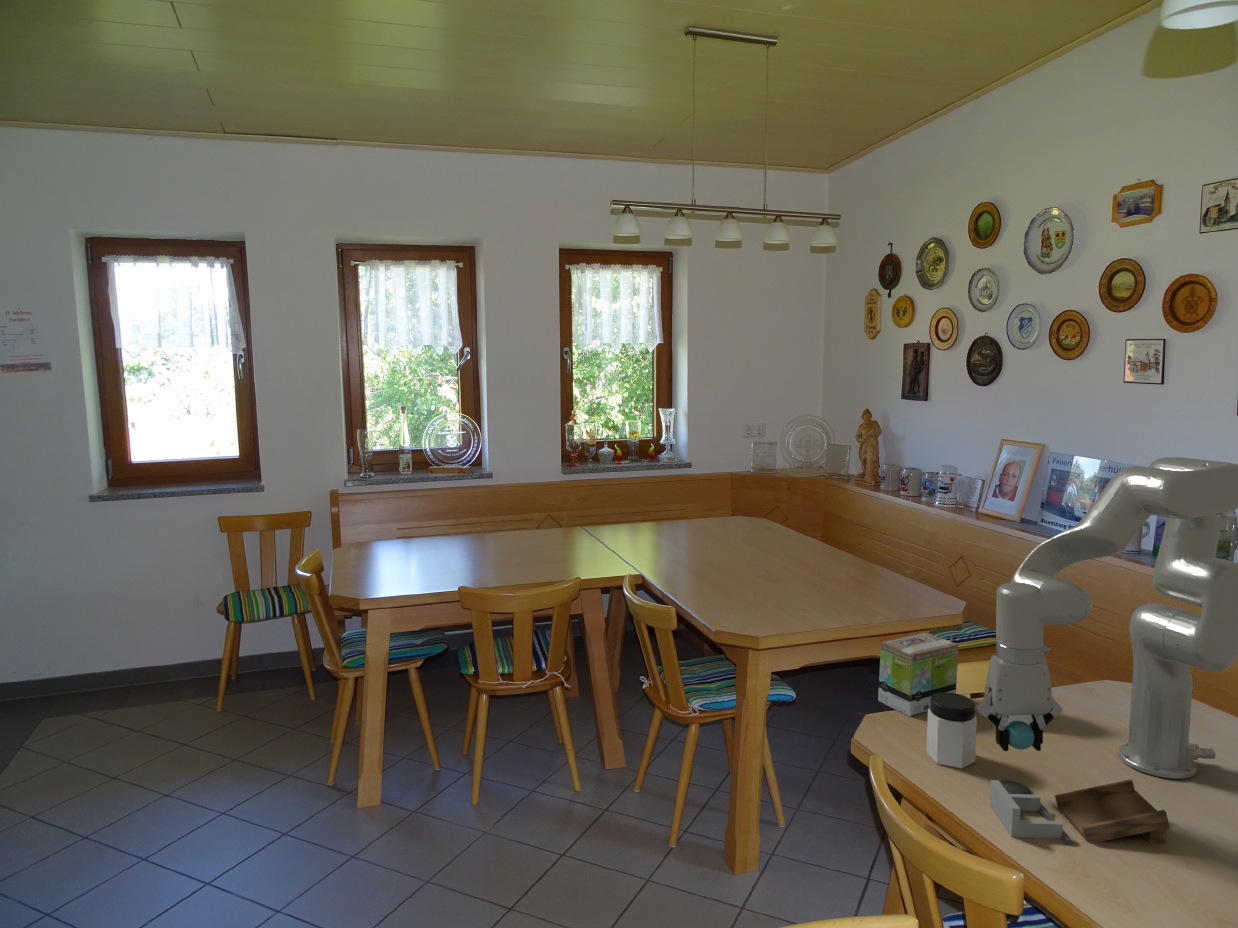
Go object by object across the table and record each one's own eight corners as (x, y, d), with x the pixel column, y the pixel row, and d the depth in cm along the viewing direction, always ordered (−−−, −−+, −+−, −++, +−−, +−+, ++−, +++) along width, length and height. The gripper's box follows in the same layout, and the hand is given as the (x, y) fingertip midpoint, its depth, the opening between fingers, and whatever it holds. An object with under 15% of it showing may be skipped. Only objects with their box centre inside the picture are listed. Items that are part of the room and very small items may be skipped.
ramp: (1133, 811, 135) (1135, 779, 134) (1168, 846, 125) (1170, 811, 124) (1053, 809, 136) (1055, 777, 135) (1082, 843, 126) (1084, 808, 125)
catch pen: (1037, 807, 136) (1038, 781, 135) (1061, 838, 127) (1063, 809, 126) (990, 806, 137) (991, 779, 136) (1011, 836, 128) (1012, 808, 127)
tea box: (911, 718, 172) (913, 654, 170) (877, 701, 181) (878, 640, 179) (957, 704, 179) (959, 642, 177) (922, 688, 187) (924, 630, 186)
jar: (955, 772, 148) (958, 713, 147) (918, 755, 155) (920, 698, 153) (982, 759, 153) (985, 701, 152) (945, 743, 160) (947, 688, 158)
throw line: (1038, 803, 137) (1038, 799, 137) (1071, 844, 125) (1071, 839, 125) (1033, 803, 137) (1033, 799, 137) (1066, 843, 125) (1066, 839, 125)
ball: (1027, 740, 143) (1027, 715, 142) (1039, 754, 138) (1039, 728, 137) (999, 741, 144) (999, 715, 143) (1010, 754, 139) (1010, 728, 138)
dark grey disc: (1022, 782, 144) (1022, 780, 144) (1037, 801, 138) (1037, 798, 138) (987, 781, 145) (987, 779, 145) (1000, 799, 139) (1000, 797, 139)
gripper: (1059, 643, 141) (1057, 736, 144) (963, 645, 143) (963, 738, 145) (1079, 658, 134) (1078, 757, 136) (978, 661, 136) (978, 758, 138)
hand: (1018, 746), depth 141 cm, fingers closed on ball, 4 cm apart
